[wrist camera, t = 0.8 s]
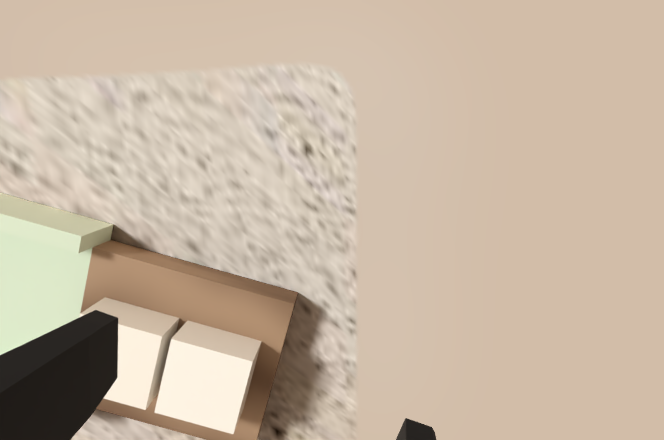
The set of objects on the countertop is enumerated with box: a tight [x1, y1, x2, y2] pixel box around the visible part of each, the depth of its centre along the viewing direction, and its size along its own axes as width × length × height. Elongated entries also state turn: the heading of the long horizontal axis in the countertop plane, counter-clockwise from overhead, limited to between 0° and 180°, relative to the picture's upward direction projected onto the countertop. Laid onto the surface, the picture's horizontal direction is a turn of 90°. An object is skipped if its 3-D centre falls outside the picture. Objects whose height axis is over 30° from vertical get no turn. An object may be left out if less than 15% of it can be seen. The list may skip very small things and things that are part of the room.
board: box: [80, 240, 298, 440], centre depth 28 cm, size 10×12×2 cm
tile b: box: [80, 297, 179, 410], centre depth 26 cm, size 4×4×2 cm
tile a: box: [154, 321, 262, 434], centre depth 26 cm, size 4×4×2 cm
